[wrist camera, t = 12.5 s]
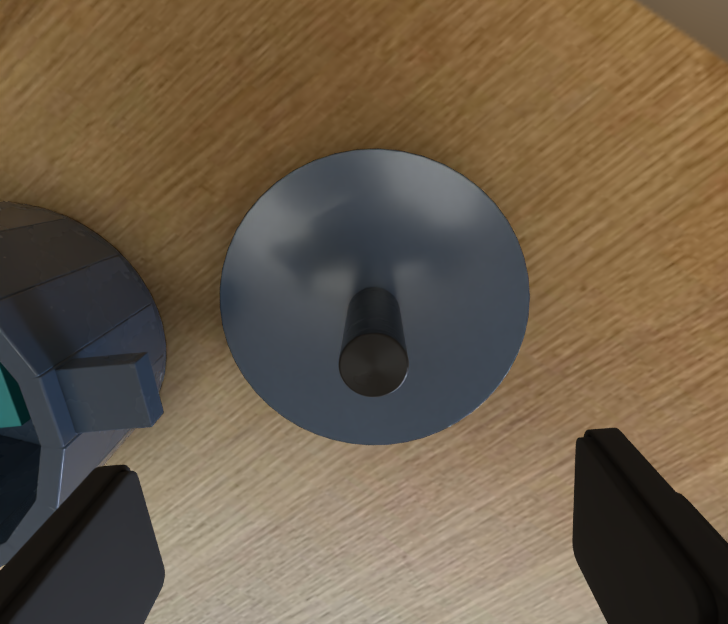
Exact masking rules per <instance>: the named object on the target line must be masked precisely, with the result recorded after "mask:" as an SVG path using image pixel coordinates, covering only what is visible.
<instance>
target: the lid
mask: <svg viewBox="0 0 728 624" xmlns="http://www.w3.org/2000/svg"><path fill="white" fill-rule="evenodd" d="M529 301H530V293H529V278H528V273H527V268H526V263H525V259H524V255H523V253H522V250H521V247H520V244H519V242H518V239H517V237H516V235H515V233H514V231H513V229H512V228H511V226H510V224H509V222H508V220H507V219H506V217H505V216H504V215H503V213H502V212H501V211H500V209H499V208H498V207H497V205H496V204H495V203H494V202H493V201H492V200H491V199H490V198H489V197H488V196H487V195H486V193H485V192H484V191H483V190H482V189H481V188H479V187H478V186H477V185H476V184H474V183H473V182H472V181H470V180H469V179H468V178H466V177H465V176H464V175H462V174H461V173H459V172H457V171H455V170H454V169H452V168H450V167H448V166H446V165H445V164H442V163H440V162H437V161H435V160H432V159H430V158H427V157H425V156H421V155H417V154H413V153H409V152H405V151H399V150H389V149H358V150H351V151H346V152H341V153H335V154H332V155H329V156H326V157H323V158H320V159H317V160H314V161H312V162H310V163H308V164H306V165H304V166H302V167H300V168H298V169H295V170H294V171H292V172H291V173H289V174H288V175H286V176H285V177H283V178H282V179H280V180H279V181H277V182H276V183H275V184H274V185H273V186H272V187H270V188H269V189H268V190H267V191H266V192H265V193H264V194H263V195H262V196H261V197H260V198H259V199H258V200H257V201H256V203H255V204H254V205H253V206H252V207H251V209H250V210H249V211H248V212H247V213H246V215H245V217H244V218H243V220H242V222H241V223H240V225H239V226H238V228H237V230H236V232H235V234H234V236H233V239H232V241H231V243H230V245H229V248H228V250H227V254H226V258H225V261H224V265H223V268H222V276H221V283H220V311H221V318H222V325H223V329H224V333H225V336H226V340H227V344H228V346H229V348H230V351H231V353H232V355H233V358H234V360H235V362H236V364H237V366H238V367H239V369H240V371H241V372H242V374H243V376H244V378H245V379H246V380H247V381H248V383H249V384H250V385H251V387H252V388H253V389H254V391H255V392H256V393H257V394H258V395H259V396H260V397H261V398H262V399H263V400H264V401H265V402H266V403H267V404H268V405H269V406H270V407H272V408H273V409H274V410H275V411H277V412H278V413H279V414H280V415H282V416H283V417H284V418H286V419H288V420H289V421H291V422H293V423H294V424H296V425H297V426H299V427H301V428H303V429H306V430H308V431H310V432H312V433H314V434H317V435H320V436H323V437H326V438H329V439H332V440H336V441H341V442H346V443H351V444H362V445H389V444H396V443H404V442H409V441H412V440H416V439H420V438H424V437H427V436H429V435H432V434H434V433H437V432H440V431H442V430H444V429H446V428H448V427H449V426H451V425H453V424H455V423H457V422H459V421H460V420H461V419H463V418H464V417H466V416H467V415H469V414H470V413H472V412H473V411H474V410H475V409H476V408H478V407H479V406H480V405H481V404H482V403H483V402H484V401H485V400H487V398H488V397H489V396H490V395H491V394H492V393H493V392H494V391H495V389H496V388H497V387H498V386H499V385H500V383H501V382H502V380H503V379H504V377H505V376H506V374H507V373H508V372H509V370H510V368H511V366H512V364H513V362H514V360H515V358H516V356H517V354H518V352H519V349H520V346H521V344H522V341H523V338H524V335H525V330H526V325H527V321H528V315H529Z"/></svg>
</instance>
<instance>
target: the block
mask: <svg viewBox="0 0 728 624" xmlns="http://www.w3.org/2000/svg"><path fill="white" fill-rule="evenodd" d="M30 419H31V417H30V415H29V412H28V409H27V406H26V404H25V401H24V398H23V395H22V393H21V390H20V387H19V384H18V382H17V381H16V380H15V379H14V378H13V377H12V375H11V374H10V373H9V372H8V371H7V369H6V368H5V367H4V366H3V365H2V363H1V362H0V428H4V427H15V426H22V425H23V424H25V423H26V422H27V421H29V420H30Z"/></svg>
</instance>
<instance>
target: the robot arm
mask: <svg viewBox="0 0 728 624" xmlns="http://www.w3.org/2000/svg"><path fill="white" fill-rule="evenodd" d="M572 542H573V551H574V555H575V558H576V561H577V563H578V565H579V567H580V569H581V571H582V573H583V575H584V577H585V579H586V581H587V583H588V585H589V587H590V589H591V591H592V593H593V595H594V597H595V599H596V601H597V603H598V605H599V607H600V609H601V611H602V613H603V615H604V617H605V619H606V621H607V623H608V624H728V543H727V542H726V541H725V540H724V539H723V537H722V536H721V535H720V534H719V533H718V532H717V531H716V530H715V529H714V528H713V527H712V526H711V524H710V523H709V522H708V521H707V520H706V519H705V518H704V517H703V516H702V515H701V514H700V513H699V511H698V510H697V509H696V508H695V507H694V506H693V505H692V504H691V503H690V502H689V501H688V500H687V499H686V498H685V497H684V496H683V495H682V494H680V493H677V492H675V490H674V489H673V488H672V487H671V486H670V485H669V484H668V483H667V482H666V481H665V479H664V478H663V477H662V476H661V475H660V474H659V473H658V472H657V471H656V470H655V468H654V467H653V466H652V465H651V464H650V463H649V462H648V461H647V460H646V459H645V457H644V456H643V455H642V454H641V453H640V452H639V451H638V450H637V449H636V448H635V446H634V445H633V444H632V443H631V442H630V441H629V440H628V439H627V438H626V437H625V435H624V434H623V433H622V432H621V431H620V430H619V429H617V428H604V429H591V430H587V431H586V432H585V434H584V437H581V438H578V439H577V441H576V454H575V483H574V512H573V541H572ZM164 577H165V570H164V565H163V562H162V558H161V555H160V551H159V548H158V544H157V541H156V537H155V534H154V530H153V527H152V523H151V520H150V516H149V513H148V509H147V506H146V502H145V499H144V495H143V492H142V488H141V485H140V481H139V478H138V475H137V473H136V472H134V471H130V468H129V467H128V466H126V465H112V466H100V467H96V468H95V469H94V470H92V471H91V473H90V474H89V475H88V476H87V477H86V478H85V479H84V480H83V481H82V482H81V483H80V485H79V486H78V487H77V488H76V489H75V490H74V491H73V492H72V493H71V494H70V495H69V496H68V498H67V499H66V500H65V501H64V502H63V503H62V504H61V505H60V506H59V507H58V508H57V509H56V511H55V512H54V513H53V514H52V515H51V516H50V517H49V518H48V519H47V520H46V521H45V523H44V524H43V525H42V526H41V527H40V528H39V529H38V530H37V531H36V532H35V533H34V534H33V536H32V537H31V538H30V539H29V540H28V541H27V542H26V543H25V544H24V545H23V546H22V547H21V549H20V550H19V551H18V552H17V553H16V554H15V555H14V556H13V557H12V558H11V559H10V561H9V562H8V563H7V564H6V565H5V566H4V567H3V568H2V569H1V570H0V624H144V622H145V620H146V618H147V616H148V614H149V612H150V610H151V608H152V606H153V604H154V602H155V600H156V599H157V597H158V595H159V593H160V591H161V588H162V586H163V583H164Z"/></svg>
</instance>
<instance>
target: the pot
mask: <svg viewBox="0 0 728 624" xmlns="http://www.w3.org/2000/svg"><path fill="white" fill-rule="evenodd" d="M0 362H1V363H2V365H3V366H4V367H5V368H6V369H7V371H8V372H9V373H10V374H11V375H12V377H13V378H14V379H15V380H16V381H17V382H18V384H19V387H20V390H21V393H22V395H23V398H24V401H25V404H26V406H27V409H28V412H29V415H30V417H31V419H30V420H29V421H27V422H26V423H25V424H23V425H22V426H15V427H4V428H0V567H1V566H3V565H5V564H7V563H8V562H9V561H10V559H11V558H12V557H13V556H14V555H15V554H16V553H17V552H18V551H19V550H20V549H21V547H22V546H23V545H24V544H25V543H26V542H27V541H28V540H29V539H30V538H31V537H32V536H33V534H34V533H35V532H36V531H37V530H38V529H39V528H40V527H41V526H42V525H43V524H44V523H45V521H46V520H47V519H48V518H49V517H50V516H51V515H52V514H53V513H54V512H55V511H56V509H57V508H58V507H59V506H60V505H61V504H62V503H63V502H64V501H65V500H66V499H67V498H68V496H69V495H70V494H71V493H72V492H73V491H74V490H75V489H76V488H77V487H78V486H79V485H80V483H81V482H82V481H83V480H84V479H85V478H86V477H87V476H88V475H89V474H90V473H91V471H92V470H94V469H95V468H96V467H100V466H103V465H104V464H105V463H106V462H107V461H108V460H109V458H110V457H111V456H112V455H113V454H114V453H115V452H116V450H117V449H118V448H119V447H120V446H121V445H122V444H123V443H124V441H125V440H126V439H127V438H128V437H129V436H130V435H131V433H132V432H133V431H134V429H135V428H145V427H152V426H153V425H154V424H155V423H156V421H157V420H158V419H159V418H160V417H161V415H162V414H163V413H164V411H163V407H162V403H161V400H160V396H159V391H160V389H161V386H162V382H163V378H164V374H165V366H166V340H165V335H164V329H163V324H162V321H161V318H160V315H159V312H158V309H157V307H156V304H155V302H154V300H153V298H152V296H151V294H150V292H149V290H148V289H147V287H146V285H145V284H144V282H143V280H142V279H141V277H140V276H139V275H138V273H137V272H136V271H135V270H134V268H133V267H132V266H131V264H130V263H129V262H128V261H127V260H126V259H125V258H124V257H123V256H122V255H121V254H120V253H119V252H118V251H117V250H116V249H115V248H114V247H113V246H112V245H111V244H109V243H108V242H107V241H106V240H104V239H103V238H102V237H101V236H99V235H98V234H96V233H95V232H93V231H92V230H90V229H89V228H87V227H85V226H84V225H82V224H80V223H78V222H76V221H74V220H72V219H70V218H68V217H66V216H64V215H62V214H59V213H56V212H53V211H50V210H48V209H45V208H40V207H36V206H31V205H27V204H19V203H13V202H9V201H8V202H5V201H2V202H0Z"/></svg>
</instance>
